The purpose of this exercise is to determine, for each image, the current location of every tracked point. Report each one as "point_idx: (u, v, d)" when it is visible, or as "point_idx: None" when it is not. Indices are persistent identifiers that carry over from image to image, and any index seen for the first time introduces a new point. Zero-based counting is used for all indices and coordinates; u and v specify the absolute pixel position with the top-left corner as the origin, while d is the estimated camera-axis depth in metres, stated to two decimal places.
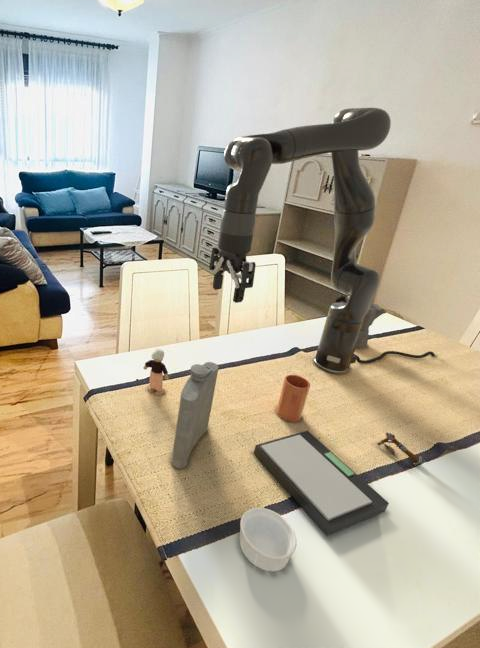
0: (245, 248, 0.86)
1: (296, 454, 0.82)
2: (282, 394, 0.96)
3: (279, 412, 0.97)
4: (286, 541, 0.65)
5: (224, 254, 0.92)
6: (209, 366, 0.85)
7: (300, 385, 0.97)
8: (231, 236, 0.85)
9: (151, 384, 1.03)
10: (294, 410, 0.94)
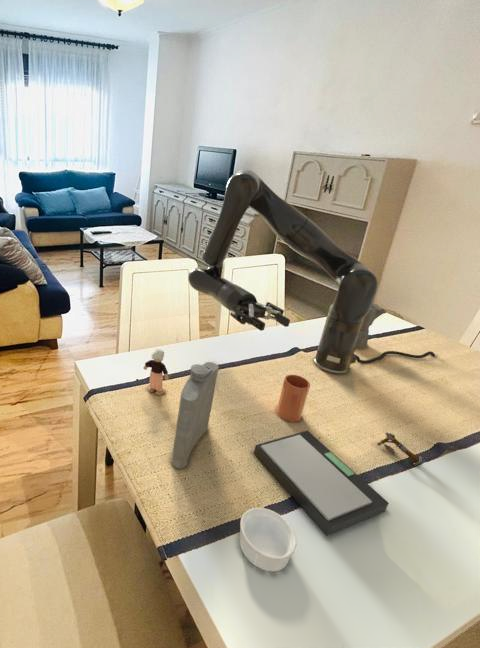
0: (233, 304, 1.09)
1: (296, 454, 0.82)
2: (282, 394, 0.96)
3: (279, 412, 0.97)
4: (286, 541, 0.65)
5: None
6: (209, 366, 0.85)
7: (300, 385, 0.97)
8: (229, 309, 1.13)
9: (151, 384, 1.03)
10: (294, 410, 0.94)
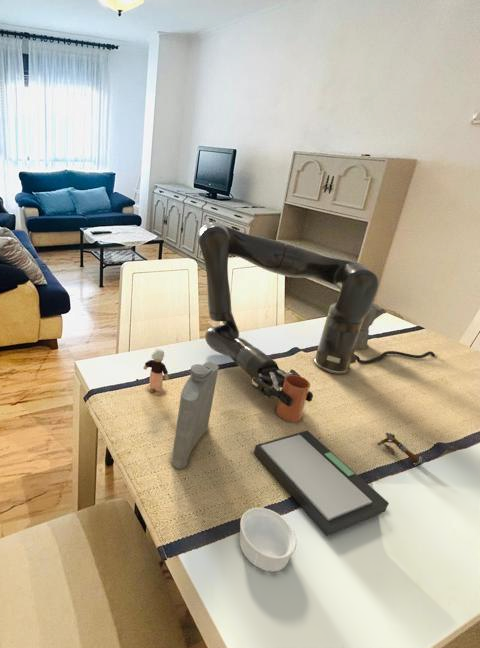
0: (253, 371, 1.04)
1: (296, 454, 0.82)
2: None
3: (279, 412, 0.97)
4: (286, 541, 0.65)
5: None
6: (209, 366, 0.85)
7: (300, 385, 0.97)
8: None
9: (151, 384, 1.03)
10: (294, 410, 0.94)
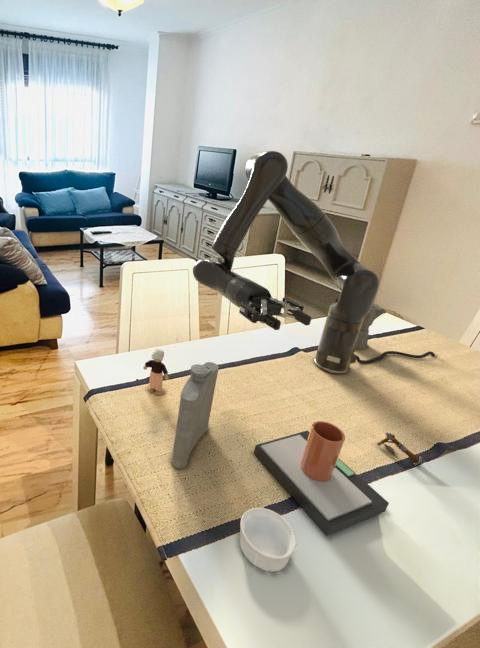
0: (243, 300, 0.93)
1: (296, 454, 0.82)
2: (308, 447, 0.76)
3: (304, 468, 0.77)
4: (286, 541, 0.65)
5: None
6: (209, 366, 0.85)
7: (331, 435, 0.77)
8: None
9: (151, 384, 1.03)
10: (324, 468, 0.74)
